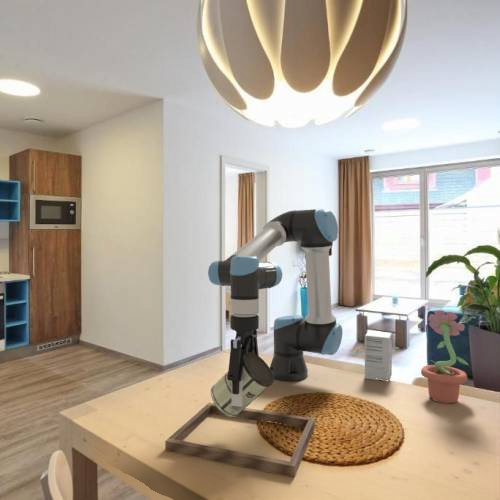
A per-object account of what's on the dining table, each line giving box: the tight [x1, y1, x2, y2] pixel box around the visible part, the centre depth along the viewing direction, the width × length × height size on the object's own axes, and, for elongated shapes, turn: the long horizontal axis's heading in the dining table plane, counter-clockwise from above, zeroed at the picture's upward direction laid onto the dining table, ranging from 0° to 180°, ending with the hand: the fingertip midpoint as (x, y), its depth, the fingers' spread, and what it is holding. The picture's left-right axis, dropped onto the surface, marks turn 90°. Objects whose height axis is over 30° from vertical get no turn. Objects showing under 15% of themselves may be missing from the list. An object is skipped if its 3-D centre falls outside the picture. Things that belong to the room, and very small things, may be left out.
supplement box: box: [364, 330, 393, 383], centre depth 151 cm, size 10×9×17 cm
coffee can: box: [210, 352, 275, 418], centre depth 103 cm, size 10×10×14 cm
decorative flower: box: [420, 309, 469, 404], centre depth 129 cm, size 15×14×30 cm
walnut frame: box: [164, 402, 316, 478], centre depth 103 cm, size 33×25×2 cm
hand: (244, 397), depth 103 cm, fingers closed on coffee can, 10 cm apart
